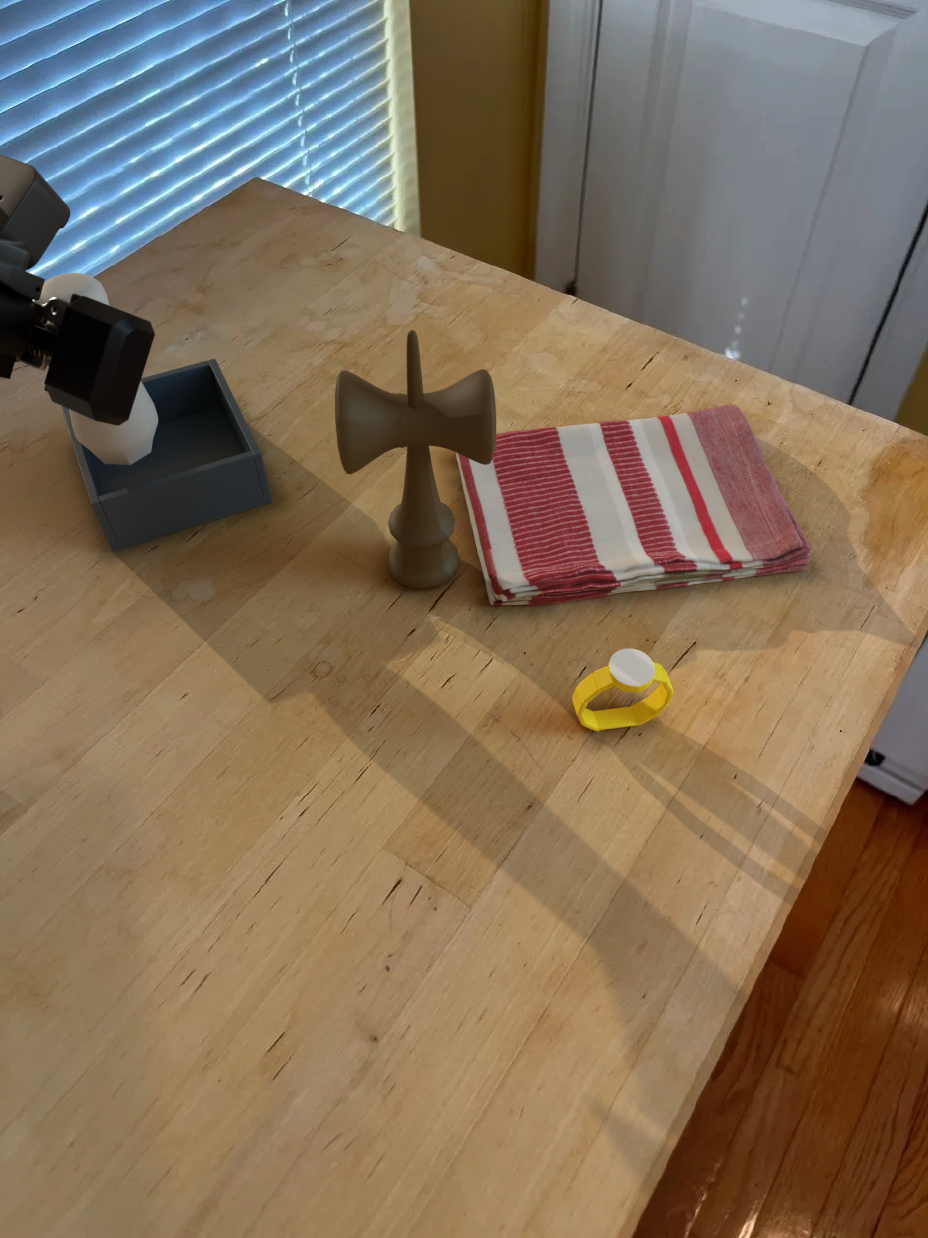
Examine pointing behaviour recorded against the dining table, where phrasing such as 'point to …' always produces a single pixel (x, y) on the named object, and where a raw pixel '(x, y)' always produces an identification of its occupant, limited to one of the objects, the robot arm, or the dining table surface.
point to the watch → (628, 675)
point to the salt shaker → (139, 430)
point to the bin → (179, 462)
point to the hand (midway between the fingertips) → (109, 354)
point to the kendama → (417, 456)
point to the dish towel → (628, 508)
